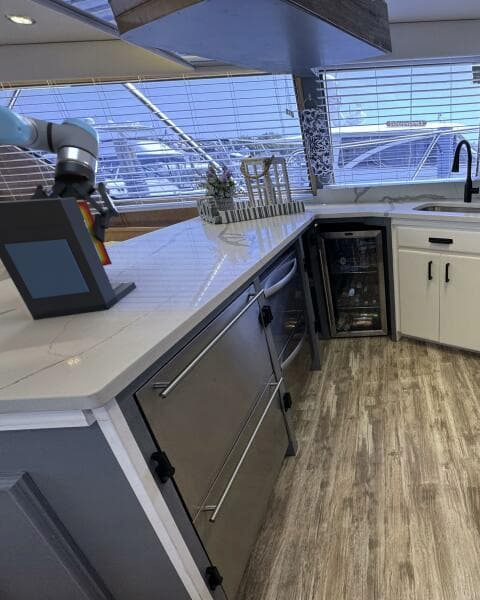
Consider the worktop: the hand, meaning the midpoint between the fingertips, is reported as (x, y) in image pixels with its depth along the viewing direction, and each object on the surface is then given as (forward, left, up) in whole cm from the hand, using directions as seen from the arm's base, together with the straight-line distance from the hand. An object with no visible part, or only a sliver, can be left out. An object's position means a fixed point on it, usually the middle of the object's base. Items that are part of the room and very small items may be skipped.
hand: (68, 241), depth 76 cm
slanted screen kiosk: (0, -2, -15) cm, 15 cm away
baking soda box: (0, +3, -7) cm, 8 cm away
